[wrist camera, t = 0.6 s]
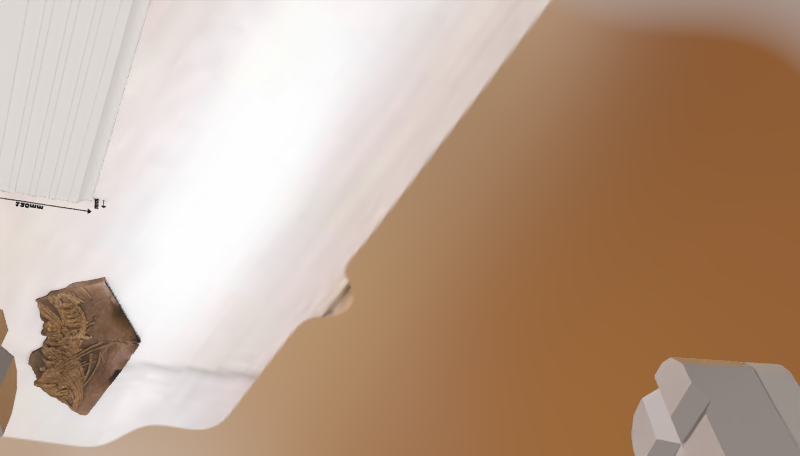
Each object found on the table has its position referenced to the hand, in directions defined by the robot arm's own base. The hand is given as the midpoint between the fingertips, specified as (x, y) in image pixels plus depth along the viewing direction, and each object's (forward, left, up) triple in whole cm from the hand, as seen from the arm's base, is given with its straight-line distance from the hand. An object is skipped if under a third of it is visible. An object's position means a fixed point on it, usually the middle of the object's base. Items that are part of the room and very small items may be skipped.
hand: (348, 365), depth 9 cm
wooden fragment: (+65, -19, -49) cm, 83 cm away
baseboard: (+26, -11, -49) cm, 57 cm away
